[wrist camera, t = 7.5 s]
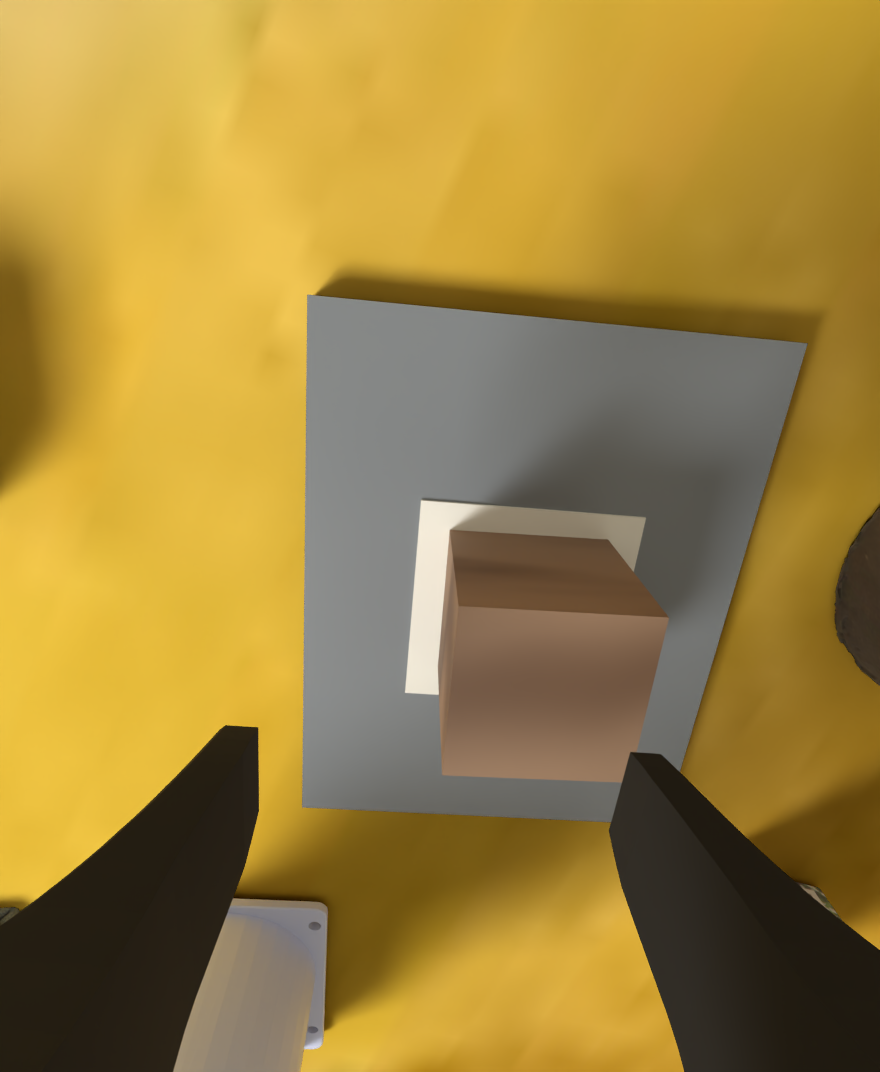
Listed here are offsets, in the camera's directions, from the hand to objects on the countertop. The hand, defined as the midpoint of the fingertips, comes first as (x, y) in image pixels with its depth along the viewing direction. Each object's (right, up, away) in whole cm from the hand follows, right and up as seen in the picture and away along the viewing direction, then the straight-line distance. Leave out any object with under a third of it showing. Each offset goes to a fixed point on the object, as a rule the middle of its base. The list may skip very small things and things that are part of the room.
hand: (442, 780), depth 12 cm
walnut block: (+3, +2, +8) cm, 9 cm away
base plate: (+3, +3, +9) cm, 10 cm away
